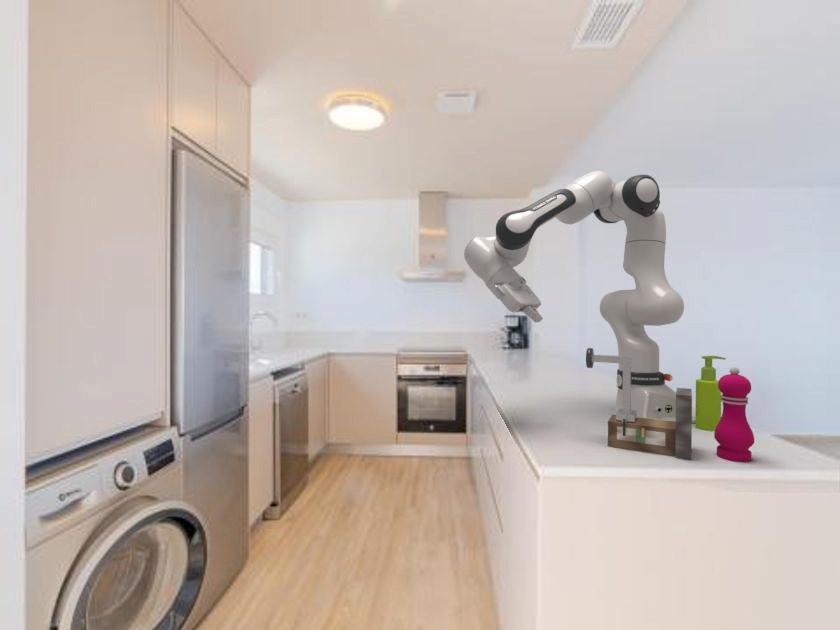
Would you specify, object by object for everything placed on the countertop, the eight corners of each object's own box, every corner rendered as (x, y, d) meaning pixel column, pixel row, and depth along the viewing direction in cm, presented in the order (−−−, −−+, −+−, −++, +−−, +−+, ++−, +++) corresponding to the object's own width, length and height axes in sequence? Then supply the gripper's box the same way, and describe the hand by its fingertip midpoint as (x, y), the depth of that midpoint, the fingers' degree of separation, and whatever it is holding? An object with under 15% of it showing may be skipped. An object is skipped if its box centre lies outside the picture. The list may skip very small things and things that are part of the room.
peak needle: (641, 437, 100) (641, 428, 100) (641, 436, 100) (641, 428, 100) (644, 437, 100) (644, 428, 100) (644, 437, 100) (644, 428, 100)
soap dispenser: (729, 431, 117) (730, 357, 117) (701, 430, 118) (701, 356, 118) (718, 426, 123) (719, 355, 123) (691, 424, 124) (692, 354, 124)
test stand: (607, 447, 104) (607, 388, 103) (613, 436, 112) (613, 382, 112) (691, 460, 95) (691, 395, 95) (690, 447, 103) (691, 388, 103)
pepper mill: (761, 463, 93) (762, 369, 92) (723, 461, 94) (724, 368, 94) (743, 452, 100) (744, 365, 100) (708, 450, 101) (709, 364, 101)
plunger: (583, 430, 107) (584, 349, 106) (589, 423, 113) (590, 347, 113) (633, 437, 101) (634, 351, 101) (636, 429, 108) (637, 349, 107)
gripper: (500, 273, 112) (536, 313, 107) (525, 278, 129) (557, 312, 125) (483, 291, 114) (518, 330, 110) (510, 292, 132) (541, 327, 127)
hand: (539, 320), depth 117 cm, fingers closed
